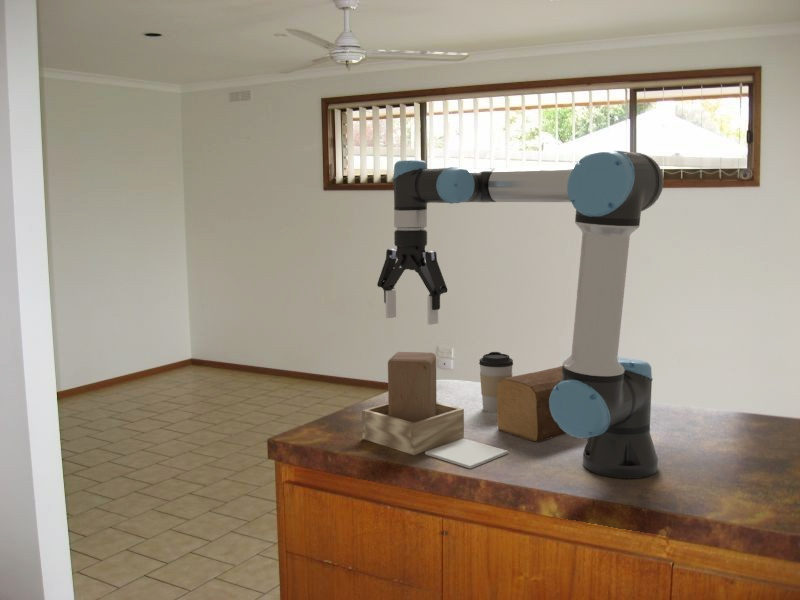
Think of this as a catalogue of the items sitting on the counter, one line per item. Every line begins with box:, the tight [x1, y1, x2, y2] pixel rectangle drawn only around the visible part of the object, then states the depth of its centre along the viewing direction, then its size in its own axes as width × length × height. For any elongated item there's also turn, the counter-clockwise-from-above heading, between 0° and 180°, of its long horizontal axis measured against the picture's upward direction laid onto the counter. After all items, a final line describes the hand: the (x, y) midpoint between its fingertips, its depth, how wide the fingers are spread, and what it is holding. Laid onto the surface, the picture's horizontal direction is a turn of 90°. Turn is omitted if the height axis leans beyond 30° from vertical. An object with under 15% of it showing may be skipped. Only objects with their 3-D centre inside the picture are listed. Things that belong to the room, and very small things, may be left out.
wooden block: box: [387, 351, 437, 423], centre depth 179 cm, size 10×10×20 cm
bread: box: [496, 365, 567, 442], centre depth 190 cm, size 14×34×14 cm, turn 128°
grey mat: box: [424, 437, 509, 469], centre depth 168 cm, size 13×13×1 cm
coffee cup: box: [478, 351, 514, 414], centre depth 203 cm, size 9×9×15 cm
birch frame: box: [361, 401, 465, 456], centre depth 180 cm, size 17×17×7 cm
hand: (411, 320), depth 176 cm, fingers open, 13 cm apart
